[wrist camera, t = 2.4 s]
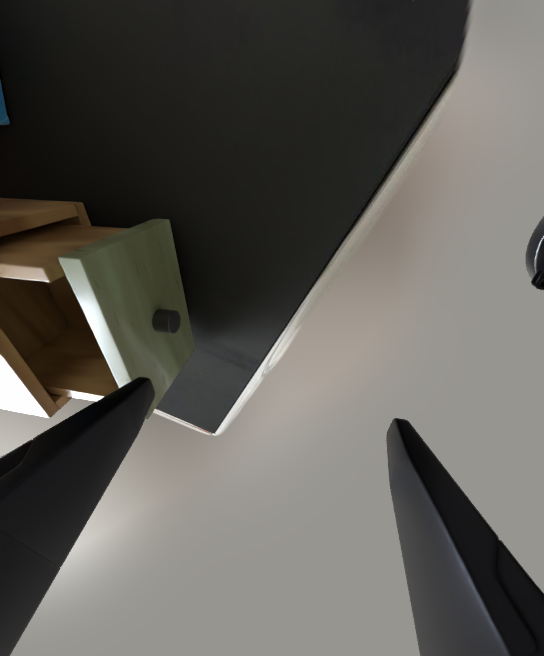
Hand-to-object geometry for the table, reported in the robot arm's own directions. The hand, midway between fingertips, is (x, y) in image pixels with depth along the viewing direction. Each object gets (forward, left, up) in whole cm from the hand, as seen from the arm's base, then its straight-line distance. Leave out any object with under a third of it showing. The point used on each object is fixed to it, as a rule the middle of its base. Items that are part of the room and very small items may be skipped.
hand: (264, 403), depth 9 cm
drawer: (+15, +2, -11) cm, 18 cm away
